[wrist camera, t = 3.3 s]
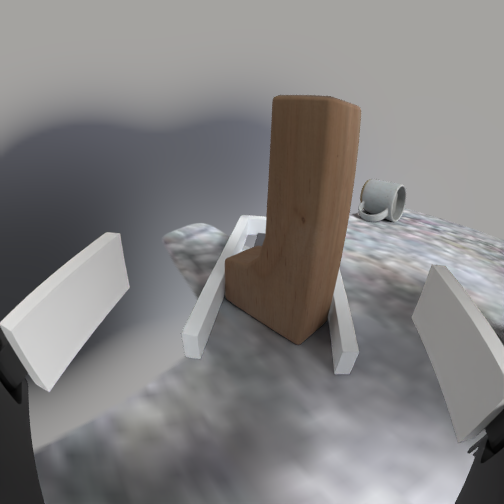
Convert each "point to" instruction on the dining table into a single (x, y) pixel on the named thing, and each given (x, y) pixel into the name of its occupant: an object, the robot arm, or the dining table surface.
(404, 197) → the ceramic mug
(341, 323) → the channel
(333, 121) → the wooden block
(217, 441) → the dining table surface
